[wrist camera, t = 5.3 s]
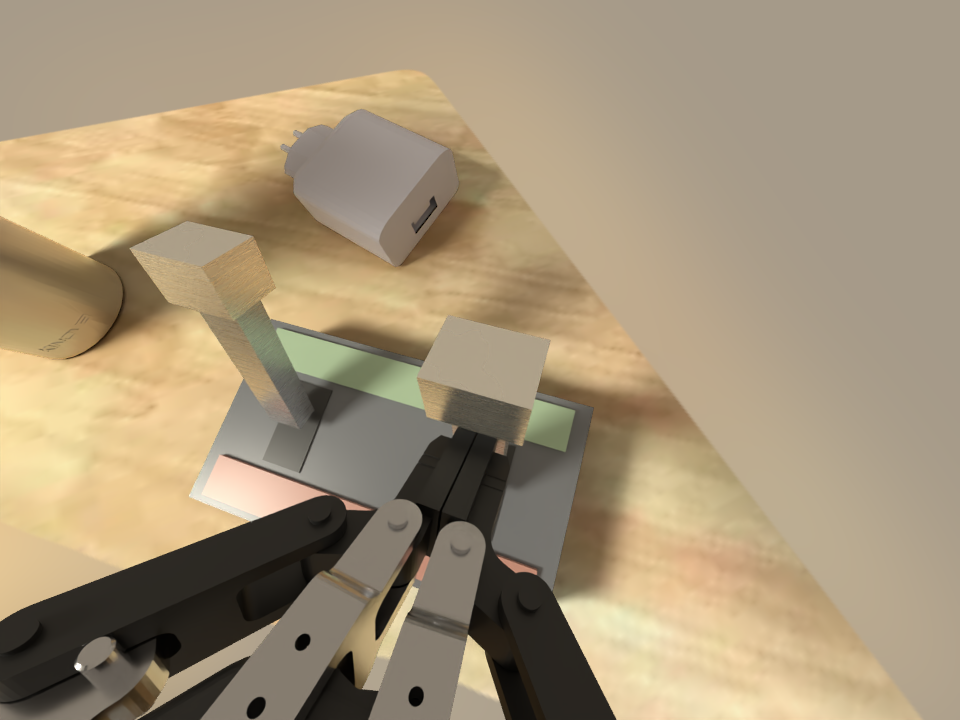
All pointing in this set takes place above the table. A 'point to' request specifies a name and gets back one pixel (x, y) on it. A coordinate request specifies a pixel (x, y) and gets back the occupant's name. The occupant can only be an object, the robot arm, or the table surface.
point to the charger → (372, 181)
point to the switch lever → (483, 379)
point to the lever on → (229, 307)
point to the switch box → (386, 449)
